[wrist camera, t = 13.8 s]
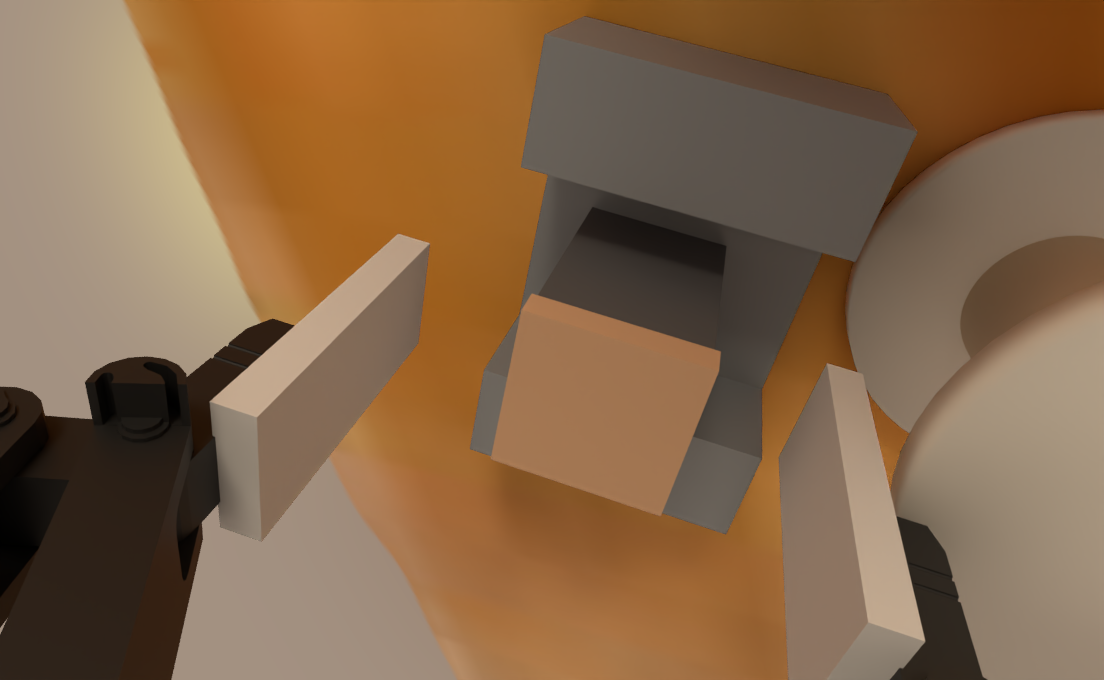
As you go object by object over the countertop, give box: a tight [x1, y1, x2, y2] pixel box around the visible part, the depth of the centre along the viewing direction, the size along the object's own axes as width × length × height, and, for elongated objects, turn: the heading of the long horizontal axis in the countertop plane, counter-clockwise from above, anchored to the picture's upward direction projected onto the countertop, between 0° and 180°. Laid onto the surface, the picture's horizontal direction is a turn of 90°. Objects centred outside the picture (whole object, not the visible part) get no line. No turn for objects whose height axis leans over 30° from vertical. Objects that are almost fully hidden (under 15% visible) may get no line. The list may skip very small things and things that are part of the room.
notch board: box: [470, 16, 917, 534], centre depth 20 cm, size 12×8×4 cm, turn 168°
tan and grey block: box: [491, 207, 727, 517], centre depth 19 cm, size 4×4×7 cm
